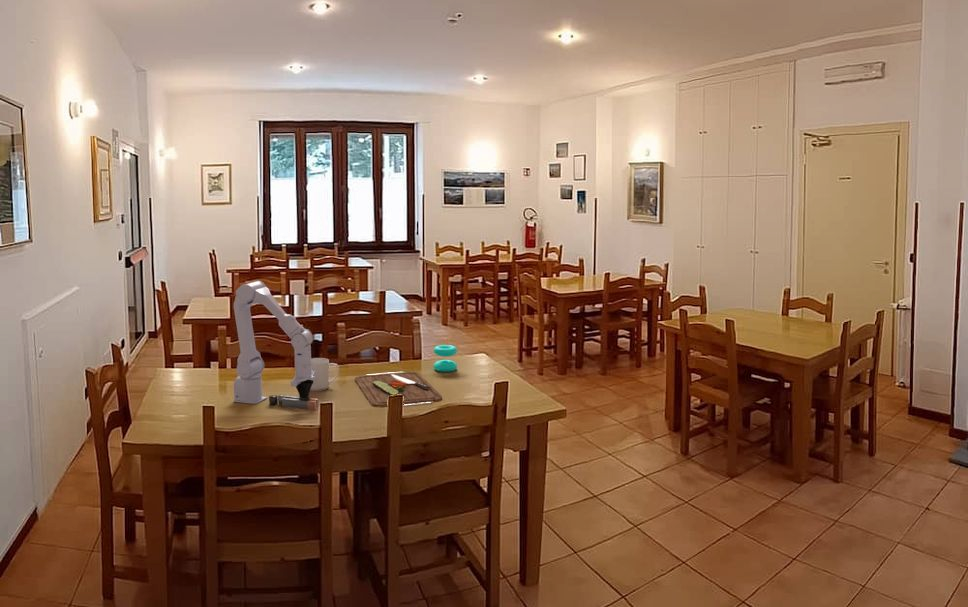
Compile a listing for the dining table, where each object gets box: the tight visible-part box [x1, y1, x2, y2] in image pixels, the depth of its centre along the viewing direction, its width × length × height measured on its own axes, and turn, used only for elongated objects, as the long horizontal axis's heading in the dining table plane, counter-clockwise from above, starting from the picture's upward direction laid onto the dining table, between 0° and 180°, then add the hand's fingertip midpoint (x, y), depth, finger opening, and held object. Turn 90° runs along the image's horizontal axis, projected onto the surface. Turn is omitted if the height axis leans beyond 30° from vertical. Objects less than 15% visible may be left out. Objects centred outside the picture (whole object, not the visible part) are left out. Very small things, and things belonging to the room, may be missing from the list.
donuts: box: [433, 344, 458, 373], centre depth 322 cm, size 10×10×10 cm
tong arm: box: [277, 394, 320, 409], centre depth 271 cm, size 16×3×3 cm, turn 74°
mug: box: [309, 357, 338, 392], centre depth 292 cm, size 12×9×11 cm
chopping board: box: [354, 371, 443, 407], centre depth 293 cm, size 45×27×3 cm, turn 20°
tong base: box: [268, 394, 318, 411], centre depth 270 cm, size 19×3×3 cm, turn 74°
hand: (304, 400), depth 272 cm, fingers closed
